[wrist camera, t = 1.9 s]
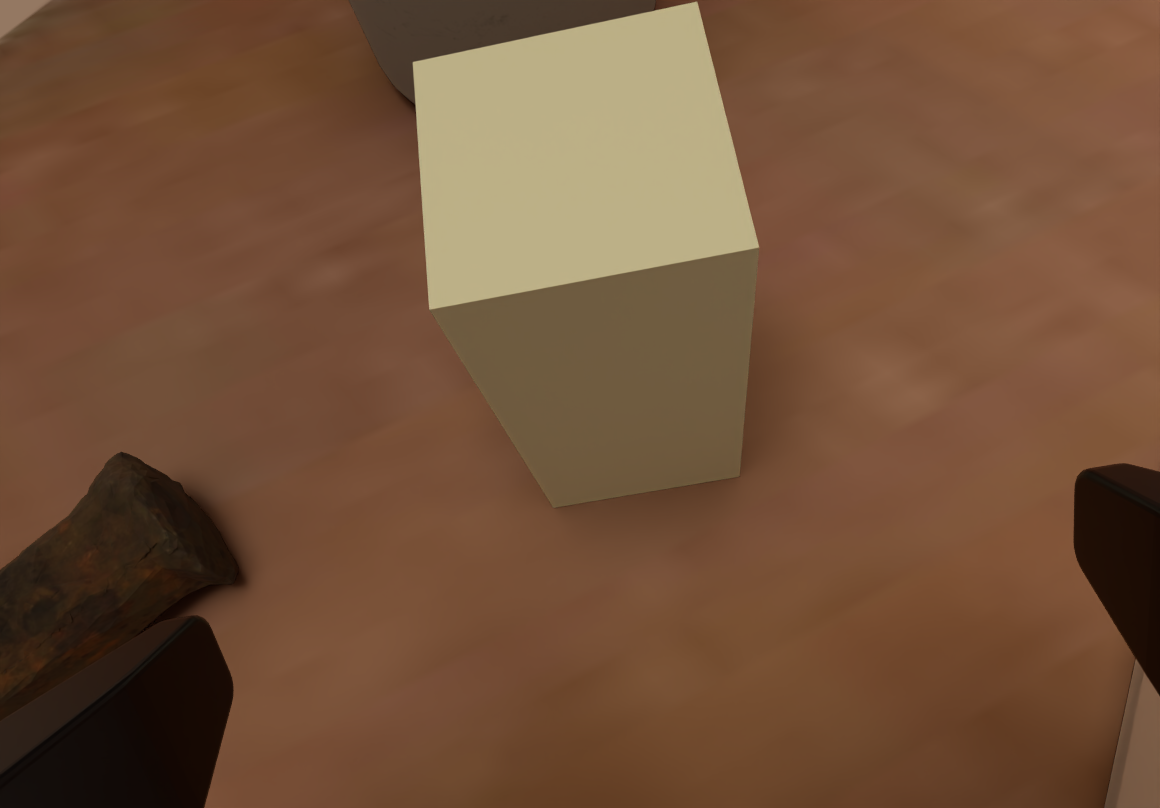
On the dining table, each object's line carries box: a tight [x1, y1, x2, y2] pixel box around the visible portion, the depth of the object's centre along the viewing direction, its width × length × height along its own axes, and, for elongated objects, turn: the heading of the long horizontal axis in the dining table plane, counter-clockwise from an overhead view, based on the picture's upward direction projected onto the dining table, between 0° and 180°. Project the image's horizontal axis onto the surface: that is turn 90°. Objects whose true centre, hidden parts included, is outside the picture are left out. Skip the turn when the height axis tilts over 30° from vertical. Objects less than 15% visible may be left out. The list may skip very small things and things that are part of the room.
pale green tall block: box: [413, 2, 759, 508], centre depth 19 cm, size 5×5×11 cm
